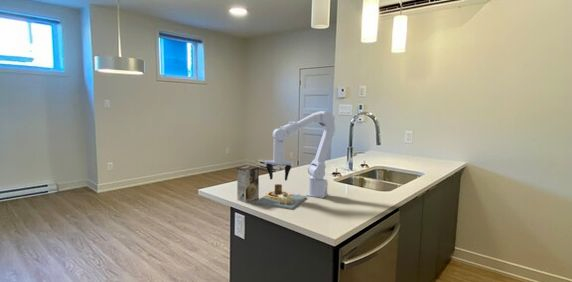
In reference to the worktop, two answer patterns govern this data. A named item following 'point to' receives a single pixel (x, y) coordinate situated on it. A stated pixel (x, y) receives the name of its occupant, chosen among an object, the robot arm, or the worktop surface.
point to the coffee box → (247, 183)
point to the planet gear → (277, 190)
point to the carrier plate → (275, 203)
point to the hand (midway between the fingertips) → (278, 179)
